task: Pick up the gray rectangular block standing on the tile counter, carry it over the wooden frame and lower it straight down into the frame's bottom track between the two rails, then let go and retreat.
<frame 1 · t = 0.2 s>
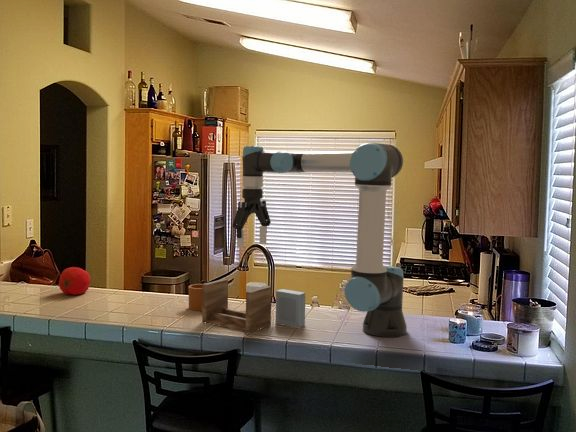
hand: (252, 245, 219), 27 cm above the table, fingers open, 13 cm apart
tomato: (74, 294, 254), on the table
wooden frame: (236, 323, 212), on the table
mug: (203, 309, 232), on the table
gray rectangular block: (290, 324, 212), on the table
white cup: (256, 309, 233), on the table
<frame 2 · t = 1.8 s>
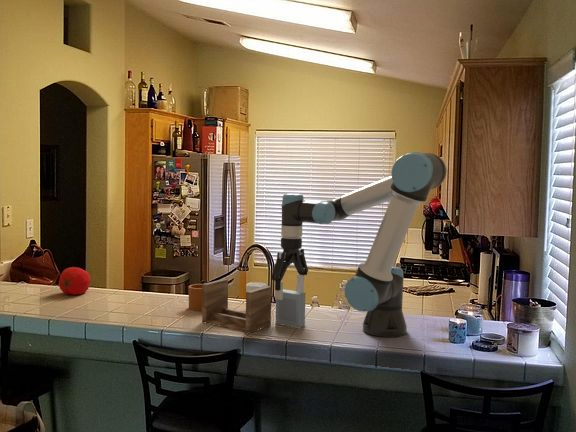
hand: (289, 295, 211), 10 cm above the table, fingers open, 13 cm apart
nothing on the table moved.
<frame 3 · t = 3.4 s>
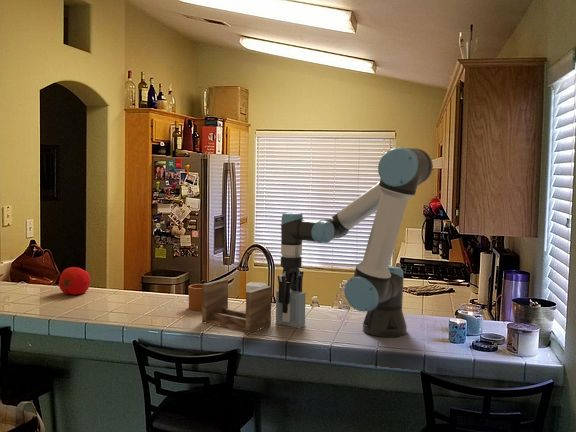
hand: (290, 319, 212), 2 cm above the table, fingers closed on gray rectangular block, 4 cm apart
gray rectangular block: (290, 324, 212), on the table, touching gripper
everything else where it was.
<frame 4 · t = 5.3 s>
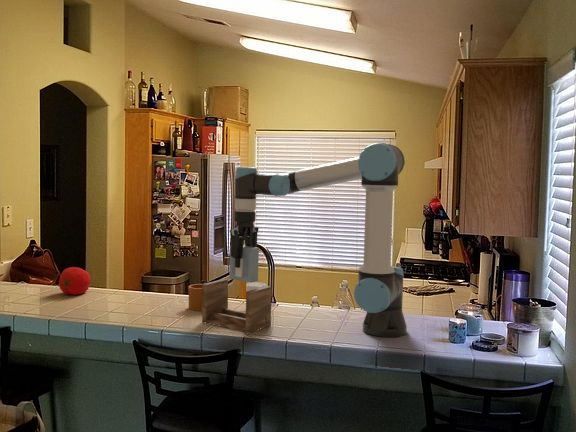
hand: (243, 275, 210), 18 cm above the table, fingers closed on gray rectangular block, 4 cm apart
gray rectangular block: (243, 279, 211), point 16 cm above the table, touching gripper
everything else where it was.
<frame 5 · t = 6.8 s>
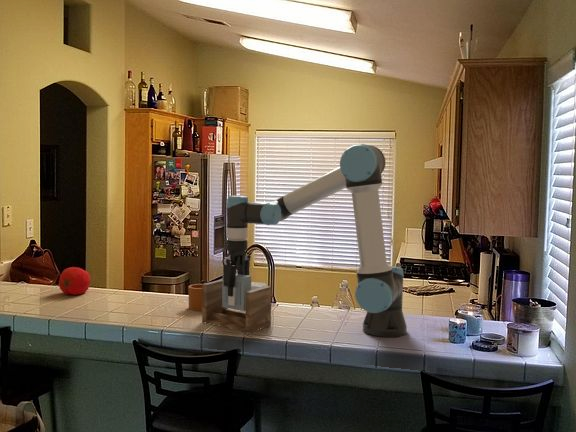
hand: (236, 303, 211), 7 cm above the table, fingers closed on gray rectangular block, 4 cm apart
gray rectangular block: (236, 307, 211), point 6 cm above the table, touching gripper
everything else where it was.
when the fingers open (4 cm above the table, at t = 7.6 s): gray rectangular block drops 1 cm, resting on wooden frame.
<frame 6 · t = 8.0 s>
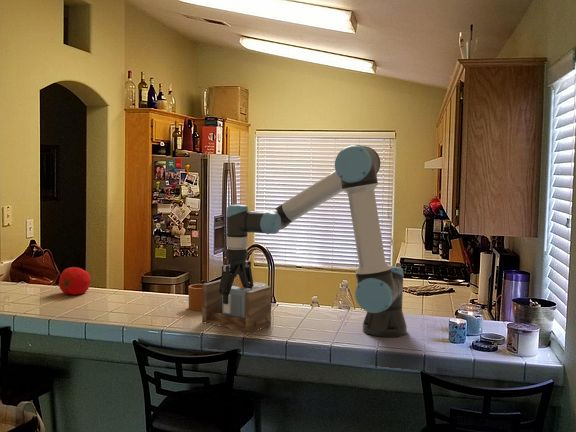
hand: (236, 309, 211), 5 cm above the table, fingers open, 9 cm apart
gray rectangular block: (236, 320, 212), point 1 cm above the table, touching wooden frame
everything else where it was.
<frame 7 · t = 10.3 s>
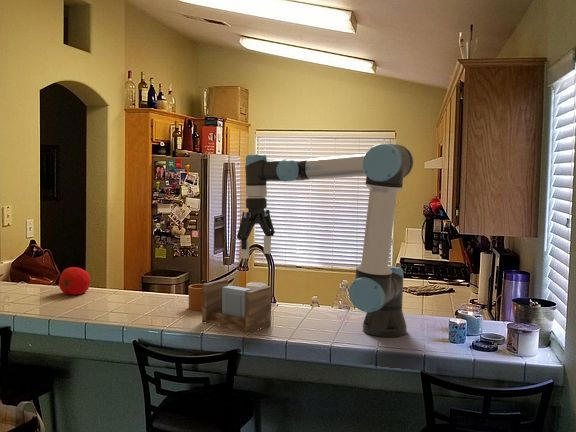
hand: (256, 256, 213), 24 cm above the table, fingers open, 13 cm apart
nothing on the table moved.
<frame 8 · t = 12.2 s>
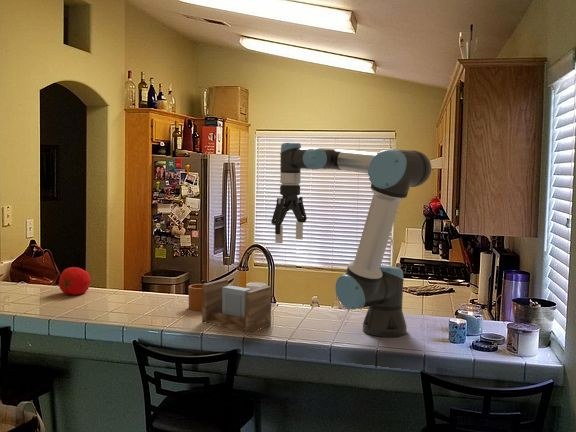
hand: (289, 241, 220), 29 cm above the table, fingers open, 13 cm apart
nothing on the table moved.
at the end: gray rectangular block inside the target area on the wooden frame (0.1 cm from its centre), point 1.0 cm above the wooden frame's base; gray rectangular block tilted 0°; the gripper is holding nothing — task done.
